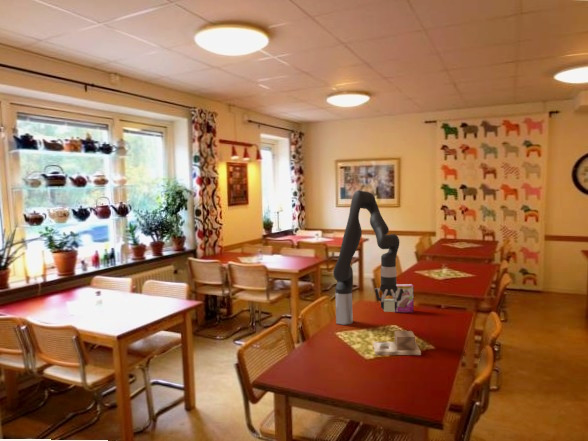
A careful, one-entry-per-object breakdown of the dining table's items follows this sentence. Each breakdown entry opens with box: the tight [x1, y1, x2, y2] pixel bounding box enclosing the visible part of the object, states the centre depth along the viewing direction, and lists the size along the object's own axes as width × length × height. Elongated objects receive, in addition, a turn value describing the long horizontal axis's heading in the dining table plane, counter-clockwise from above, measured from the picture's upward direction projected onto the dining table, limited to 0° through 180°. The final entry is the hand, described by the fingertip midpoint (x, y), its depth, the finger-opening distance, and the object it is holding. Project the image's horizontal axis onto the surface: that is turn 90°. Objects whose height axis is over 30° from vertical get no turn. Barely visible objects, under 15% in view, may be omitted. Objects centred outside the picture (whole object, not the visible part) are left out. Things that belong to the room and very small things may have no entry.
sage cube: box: [382, 298, 396, 313], centre depth 204 cm, size 5×5×5 cm
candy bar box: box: [394, 283, 415, 314], centre depth 249 cm, size 11×5×16 cm, turn 84°
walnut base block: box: [394, 330, 416, 350], centre depth 191 cm, size 8×8×6 cm
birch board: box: [372, 341, 422, 356], centre depth 191 cm, size 20×12×2 cm, turn 84°
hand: (388, 308), depth 204 cm, fingers closed on sage cube, 5 cm apart
